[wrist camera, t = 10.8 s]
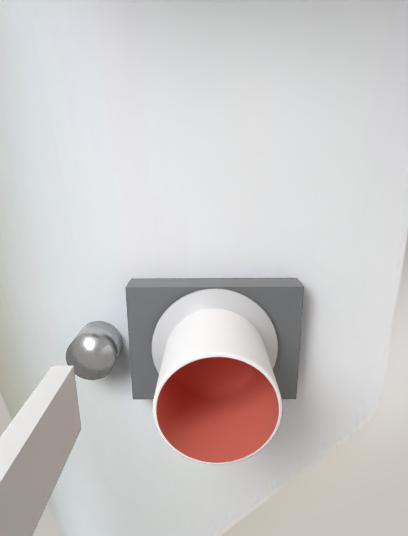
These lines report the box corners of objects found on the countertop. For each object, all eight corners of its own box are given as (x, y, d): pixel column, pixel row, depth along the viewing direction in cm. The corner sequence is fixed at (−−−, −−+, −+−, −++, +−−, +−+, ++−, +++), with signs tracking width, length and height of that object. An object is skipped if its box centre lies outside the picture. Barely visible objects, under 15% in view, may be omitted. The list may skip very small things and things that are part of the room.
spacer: (76, 321, 41) (63, 336, 37) (120, 320, 41) (112, 336, 37) (81, 361, 43) (68, 380, 39) (123, 360, 43) (115, 379, 39)
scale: (131, 278, 40) (123, 290, 36) (296, 278, 40) (306, 289, 36) (138, 386, 43) (131, 408, 39) (289, 386, 43) (298, 407, 39)
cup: (283, 341, 37) (310, 402, 28) (222, 408, 39) (227, 486, 30) (205, 284, 36) (205, 327, 26) (146, 357, 38) (126, 421, 28)
